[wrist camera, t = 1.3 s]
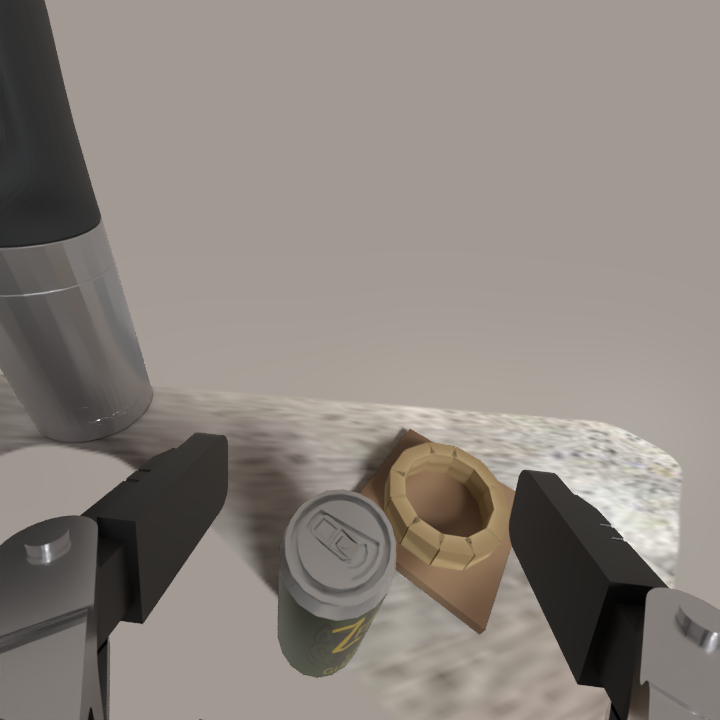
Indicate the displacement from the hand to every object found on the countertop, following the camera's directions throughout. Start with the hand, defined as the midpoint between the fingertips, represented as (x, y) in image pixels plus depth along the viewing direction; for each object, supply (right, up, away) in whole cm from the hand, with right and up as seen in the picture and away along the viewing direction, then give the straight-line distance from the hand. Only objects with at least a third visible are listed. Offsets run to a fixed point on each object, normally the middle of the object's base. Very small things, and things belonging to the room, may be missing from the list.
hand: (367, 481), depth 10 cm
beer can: (-3, -14, +13) cm, 20 cm away
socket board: (+6, -10, +21) cm, 24 cm away
